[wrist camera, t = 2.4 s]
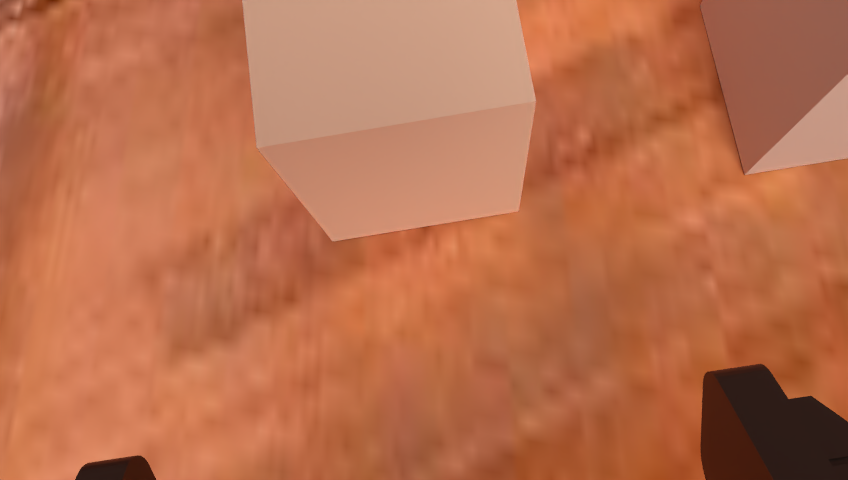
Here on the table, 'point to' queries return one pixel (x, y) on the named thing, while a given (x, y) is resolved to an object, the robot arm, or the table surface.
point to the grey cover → (782, 78)
